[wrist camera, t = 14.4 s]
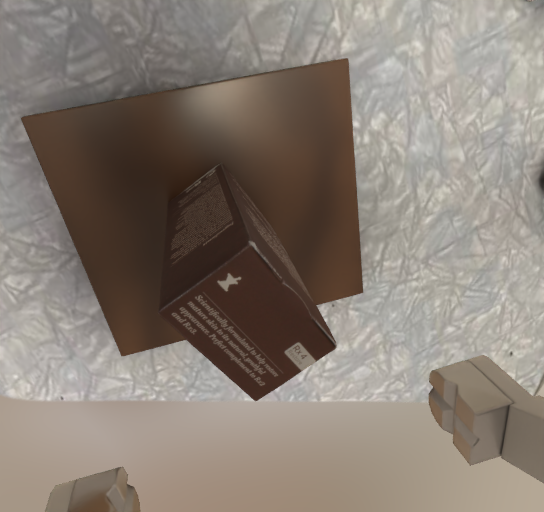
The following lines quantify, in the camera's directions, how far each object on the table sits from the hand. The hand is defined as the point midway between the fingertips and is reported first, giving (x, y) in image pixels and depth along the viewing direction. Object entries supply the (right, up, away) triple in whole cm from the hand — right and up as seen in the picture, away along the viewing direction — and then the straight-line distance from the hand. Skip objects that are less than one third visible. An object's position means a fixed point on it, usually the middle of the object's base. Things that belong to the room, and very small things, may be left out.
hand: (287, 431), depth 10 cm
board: (-4, +7, +16) cm, 18 cm away
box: (-4, +7, +15) cm, 17 cm away
